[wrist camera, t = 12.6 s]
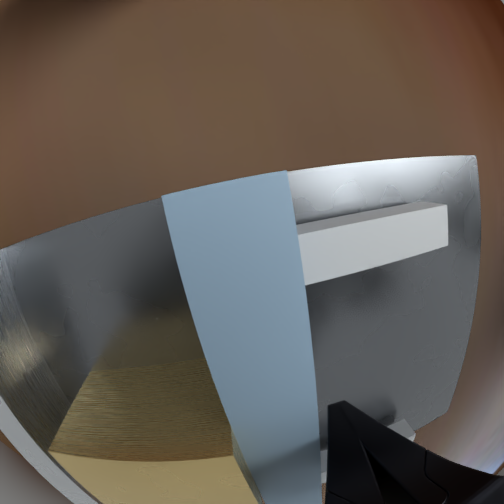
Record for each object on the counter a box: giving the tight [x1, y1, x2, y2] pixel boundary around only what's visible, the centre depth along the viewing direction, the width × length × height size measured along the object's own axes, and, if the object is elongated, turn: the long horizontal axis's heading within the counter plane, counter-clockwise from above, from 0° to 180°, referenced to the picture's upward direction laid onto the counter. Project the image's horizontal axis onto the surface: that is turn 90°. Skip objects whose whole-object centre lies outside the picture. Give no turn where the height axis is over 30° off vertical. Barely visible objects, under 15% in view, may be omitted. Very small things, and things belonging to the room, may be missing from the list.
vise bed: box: [2, 155, 481, 452], centre depth 9 cm, size 21×14×1 cm, turn 101°
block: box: [48, 358, 262, 504], centre depth 7 cm, size 5×4×4 cm
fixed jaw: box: [0, 249, 103, 504], centre depth 7 cm, size 3×14×3 cm, turn 11°
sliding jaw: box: [162, 170, 448, 504], centre depth 8 cm, size 7×14×3 cm, turn 11°
